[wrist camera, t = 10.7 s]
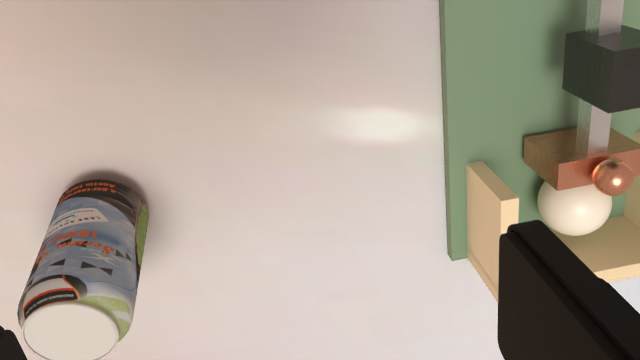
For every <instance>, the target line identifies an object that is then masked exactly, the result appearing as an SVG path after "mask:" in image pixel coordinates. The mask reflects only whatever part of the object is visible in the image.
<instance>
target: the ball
mask: <svg viewBox="0 0 640 360" xmlns="http://www.w3.org/2000/svg"><path fill="white" fill-rule="evenodd" d="M537 204H538V209H539V213H540V215H541V217H542V218H543V220H544V221H545V222H546V224H547V225H548V226H550V227H551V228H552V229H554V230H555V231H557V232H559V233H562V234H565V235H571V236H580V235H585V234H589V233H591V232H593V231H595V230H597V229H598V228H600V227H601V226H602V225H603V224H604V223H605V221H606V220H607V219H608V217H609V215H610V212H611V209H612V196H608V195H605V194H602V193H601V192H599V191H598V190H597V189H596V188H595V187H594V185H593V184H592V185H586V186H581V187H576V188H571V189H565V190H560V191H557V190H555V189H554V188H553V187H552V186H551V185H550V184H548V183H547V182H546V181H544V183H543V184H542V186H541V188H540V190H539V193H538V200H537Z"/></svg>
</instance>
